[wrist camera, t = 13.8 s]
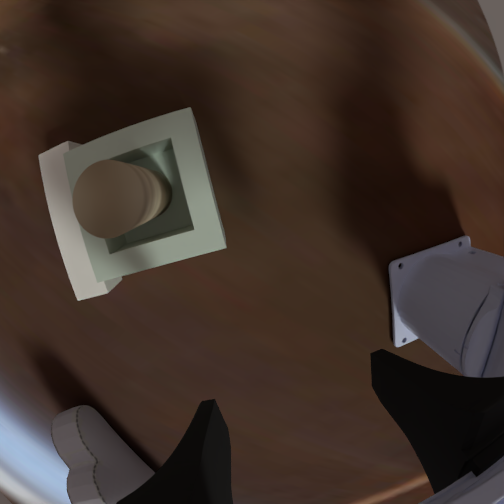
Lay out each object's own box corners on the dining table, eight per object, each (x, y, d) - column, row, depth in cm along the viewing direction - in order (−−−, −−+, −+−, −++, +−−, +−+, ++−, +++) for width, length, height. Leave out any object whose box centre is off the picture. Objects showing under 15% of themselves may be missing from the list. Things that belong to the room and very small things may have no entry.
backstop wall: (86, 146, 18) (67, 140, 15) (122, 279, 20) (108, 293, 17) (59, 158, 18) (38, 155, 15) (94, 287, 20) (77, 300, 17)
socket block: (196, 122, 18) (190, 107, 15) (225, 236, 20) (226, 247, 16) (89, 158, 18) (63, 153, 14) (118, 266, 20) (97, 282, 16)
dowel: (169, 165, 18) (137, 152, 11) (175, 214, 19) (148, 231, 11) (123, 175, 18) (68, 169, 10) (130, 221, 19) (79, 244, 11)
